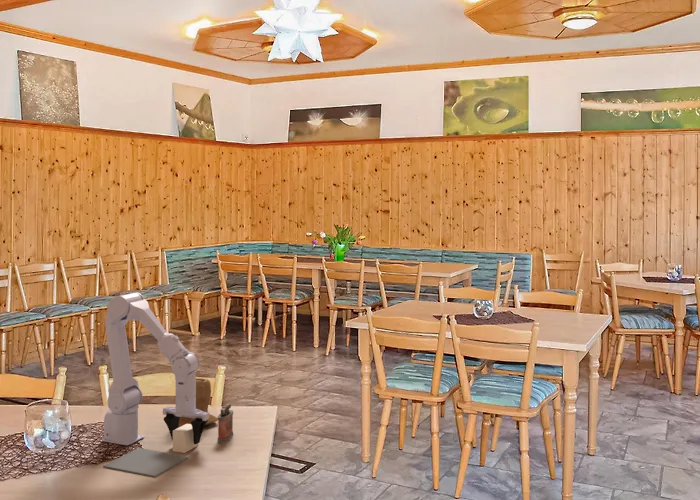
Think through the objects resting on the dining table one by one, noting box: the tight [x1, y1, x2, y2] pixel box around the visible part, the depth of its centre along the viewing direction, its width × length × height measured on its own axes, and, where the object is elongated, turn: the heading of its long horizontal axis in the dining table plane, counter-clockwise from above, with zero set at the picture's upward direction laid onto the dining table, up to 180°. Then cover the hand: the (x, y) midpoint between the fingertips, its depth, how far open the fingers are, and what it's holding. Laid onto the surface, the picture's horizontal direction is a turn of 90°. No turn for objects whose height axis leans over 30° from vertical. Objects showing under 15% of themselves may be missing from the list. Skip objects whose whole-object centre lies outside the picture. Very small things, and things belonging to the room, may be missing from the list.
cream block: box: [172, 424, 199, 454], centre depth 208 cm, size 4×7×6 cm, turn 158°
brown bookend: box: [178, 377, 218, 428], centre depth 228 cm, size 15×12×15 cm
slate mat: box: [103, 447, 190, 478], centre depth 197 cm, size 17×15×1 cm
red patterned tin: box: [217, 403, 234, 443], centre depth 217 cm, size 8×3×10 cm, turn 168°
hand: (185, 441), depth 208 cm, fingers open, 7 cm apart
